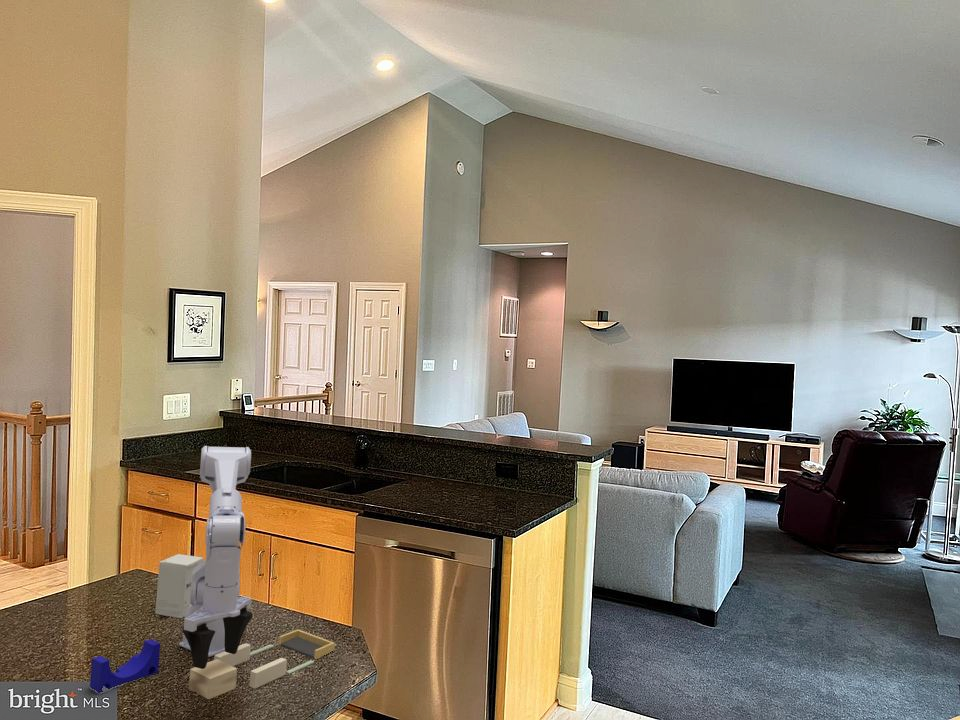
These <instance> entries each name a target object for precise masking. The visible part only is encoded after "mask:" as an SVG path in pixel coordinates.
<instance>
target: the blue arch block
mask: <svg viewBox="0 0 960 720" xmlns="http://www.w3.org/2000/svg"><path fill="white" fill-rule="evenodd" d="M142 646H143V647H142V649H141V651H140V653H138V654H135V655H132V656H131V658H130V659H129V660H128V661H127V662H126V663H125V664H123V665H121V666H120V667H118V668H115V672H112V670H111V667H110V659H107V658H106V657H103V656H101V655H97V656H95V657H92V658H91V667H90V679H89V680H90V681H89V688H90V687H91V688H92V689H94V690H96V691H97V692H98V693H100V692H103V691H102V688H103V686H105V687H106V688H108V689H110V688H112V687H115V686H117V685H121V684H123V683H126V682H130V681H133V680H137V679H139V678H142V677H145V678H147V677H149V676H148V675H150V676H152V675H151V674H153V675H155V674H158V673H159V667H160V654H161V653H160V652H161V642H158V641H157V640H154V639H152V638H149V639H146V640H144V641H143V645H142ZM157 672H158V673H157ZM146 676H147V677H146ZM142 679H143V678H142ZM139 680H140V679H139ZM137 681H138V680H137Z"/></svg>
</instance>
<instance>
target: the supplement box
mask: <svg viewBox="0 0 960 720" xmlns="http://www.w3.org/2000/svg"><path fill="white" fill-rule="evenodd" d="M203 561H204V557H200V556H195V555H188V554H179V553H178V554H174V555H173V556H170V557H168V558H165V559H163V560H161V561H159V564H158V576H157V588H156V601H155V610H154V611H155V612H154V614H155V615H161V616H166V617H171V618H177V619H184V618H185V613H186V611H187V609H188V607H189V606H190V605H191V604H190V593H191V580H192V576H193V570H194V568H195V567H196V566H197V565H199V564H200V563H202V562H203ZM195 601H196V600H195Z"/></svg>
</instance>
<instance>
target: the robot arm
mask: <svg viewBox="0 0 960 720" xmlns="http://www.w3.org/2000/svg"><path fill="white" fill-rule="evenodd" d="M200 451H201V453H200V463H199V464H200V465H199V467H200V469H199V475H200V476H199V478H200V481H201V482H203V483H206V484H209V487H210V489H211V495H210V498H209V511H208V512H209V513H208V518H207V520H206V526H205V539H204V544H205V560H203V562H202V563H200V564H199V565H197V566H196V567H195V568H194V570H193V576H192V580H191V593H190V604H191V605H190V606H189V607H188V609H187V611H186V613H185V616H184V617H183V626H182V633H183V635H182V641H181V642H179V643H178V645H179V646H180V647H183V648H184V649H186V650H189V651H190V653H191V656H192V663H193V668H194V667H197V668H200V669H204V668H206V665H207V663H208V659H209V658H210V657H211V658H212V657H213V656H214V655H216V654H219V653H222V652H224V651H225V652H228V653H231V654H236V652H237V650H238V647H239V646H240V643H241V640H242V638H243V634H244V632H245V630H246V628H247V626H248V625H249V623H250V621H251V620H252V618H253V613H252V612H251V611H249V610H250V609H251V607H252V597H247V596H244V595H243V596H240V587H241V581H240V580H241V575H240V574H241V571H240V570H241V569H240V566H241V554H242V553H241V551H242V548H243V546H244V544H245V539H246V538H245V537H246V517H245V514H244V512H243V501H242V500H243V499H242V498H243V497H242V494H241V493H240V492H239V491H238V490H237V489H236V488H237V485H240V484H241V483H246V480H248V477H249V475H250V473H251V464H252V462H251V461H252V449H250V447H249V446H245V447H242V446H241V447H239V446H236V447H231V446H208V445H204V446H203V447H202V448H201V450H200ZM240 544H241V545H240ZM195 600H196V601H195Z"/></svg>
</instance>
